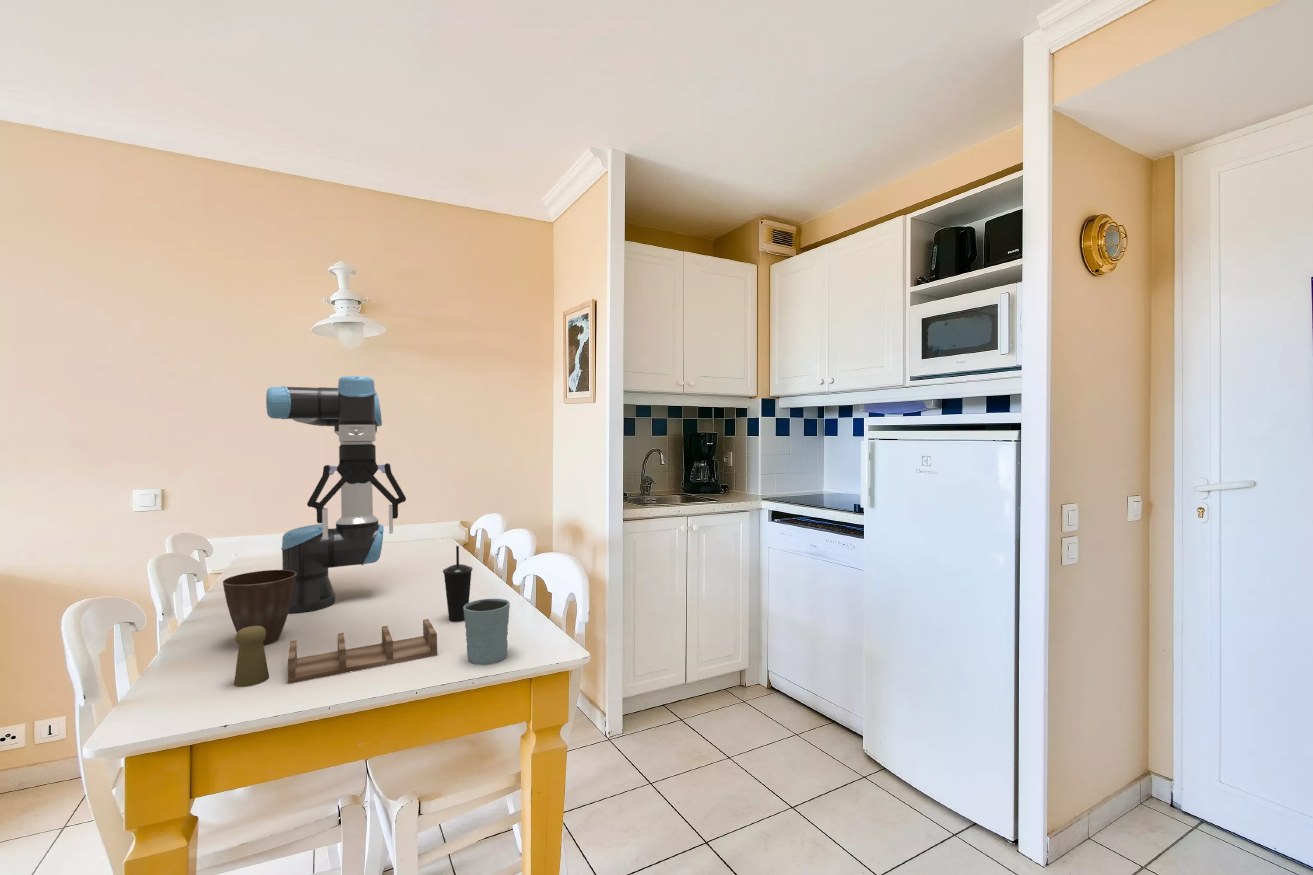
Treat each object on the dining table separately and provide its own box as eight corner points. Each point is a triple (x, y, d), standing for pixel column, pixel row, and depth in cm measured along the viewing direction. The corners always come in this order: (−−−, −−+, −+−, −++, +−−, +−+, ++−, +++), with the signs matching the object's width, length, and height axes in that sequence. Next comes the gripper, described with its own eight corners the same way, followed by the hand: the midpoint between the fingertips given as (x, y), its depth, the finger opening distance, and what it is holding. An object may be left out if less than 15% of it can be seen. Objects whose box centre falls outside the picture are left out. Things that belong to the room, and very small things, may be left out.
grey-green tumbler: (471, 669, 125) (470, 613, 125) (458, 654, 133) (457, 602, 133) (516, 658, 130) (516, 605, 130) (502, 645, 139) (501, 595, 139)
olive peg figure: (232, 679, 121) (231, 627, 120) (267, 671, 124) (266, 620, 124) (235, 689, 116) (234, 634, 116) (271, 680, 120) (270, 627, 120)
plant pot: (303, 628, 152) (302, 567, 152) (289, 648, 138) (288, 581, 138) (236, 635, 147) (234, 572, 147) (214, 656, 133) (212, 587, 133)
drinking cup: (456, 625, 153) (455, 549, 153) (437, 620, 157) (436, 546, 157) (479, 617, 160) (478, 544, 159) (460, 612, 164) (459, 542, 163)
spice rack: (290, 663, 129) (290, 641, 129) (428, 639, 143) (428, 618, 143) (288, 683, 118) (287, 659, 118) (437, 655, 133) (436, 633, 133)
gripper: (291, 444, 126) (293, 542, 126) (416, 442, 136) (417, 533, 136) (297, 444, 133) (299, 536, 133) (415, 442, 143) (416, 528, 143)
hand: (358, 535), depth 135 cm, fingers open, 13 cm apart
